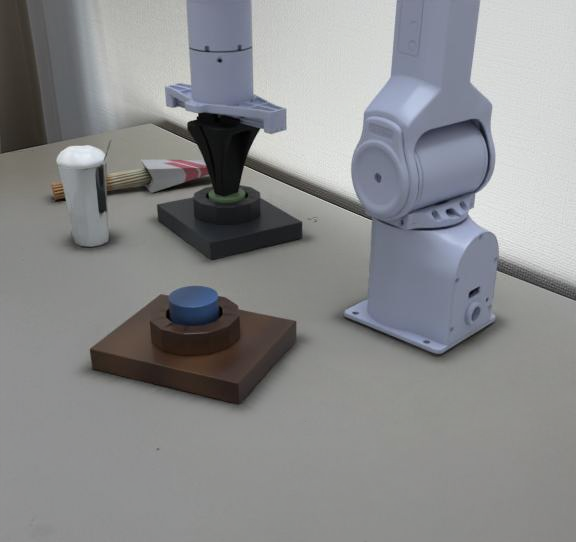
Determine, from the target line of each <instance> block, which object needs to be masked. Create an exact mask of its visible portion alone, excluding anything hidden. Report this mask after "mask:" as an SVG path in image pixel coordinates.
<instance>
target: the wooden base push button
mask: <svg viewBox="0 0 576 542" xmlns="http://www.w3.org/2000/svg"><path fill="white" fill-rule="evenodd" d="M168 298H169V295H168V294H164V293H161V294H159V295H157V296H156V297H155V298H154V299H152V300H151V301H150V302H149V303H147V304H146V305H145V306H143V307H142V308H140V309H139V310H138V311H137V312H135V313H134V314H133V315H131V316H130V317H128V319H127V320H125V321H124V322H123V323H121V324H120V325H118V326H117V327H116V328H114V329H113V330H112V331H111V332H110V333H108V334H107V335H106V336H104V337H103V338H102V339H100V340H99V341H97V342H96V343H95V344H94V345H92V346H91V347H90V348H89V354H90V362H91V368H92V370H97V371H100V372H104V373H109V374H111V375H112V374H113V375H117V376H122V377H126V378H129V379H134V380H137V381H142V382H146V383H150V384H155V385H159V386H163V387H168V388H171V389H174V390H175V389H176V390H180V391H184V392H187V393H193V394H196V395H200V396H205V397H207V398H213V399H217V400H220V401H224V402H231V403H232V404H233V403H234V404H237V405H239V404H240V403H241V402H242V401H243V400H244V399H245V398H246V397H247V396H248V394H249V393H250V392H252V390H253V389H255V387H256V386H257V384H258V383H259V382H260V381H261V380H262V379H263V378H265V376H266V375H267V373H268V372H269V371H270V370H271V369H272V368H273V367H274V366H275V365H276V363H278V361H279V360H280V359H281V358H282V357H283V356H284V354H286V352H288V350H289V349H290V348H291V347H292V346H293V345H294V344H295V343H296V341H297V320H294V319H288V318H284V317H278V316H275V315H270V314H269V315H268V314H264V313H258V312H253V311H248V310H244V309H239V305H238V304H237V303H235V302H234V301H233V300H231V299H229V298H227V297H226V296H222V295H218V298H219V319H218V320H217V321H215V322H212V323H209V324H206V325H203V326H184V325H179V324H174V323H173V322H171V320H170V311H169V299H168Z"/></svg>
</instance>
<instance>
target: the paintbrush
mask: <svg viewBox="0 0 576 542" xmlns="http://www.w3.org/2000/svg"><path fill="white" fill-rule="evenodd" d="M140 162H141V164H142V165H143V168H138V169H131V170H124V171H119V172H112V173H107V192H109V191H110V192H111V191H114V190H115V191H116V190H120V189H121V190H122V189H127V188H133V187H137V186H143V185H144V187H146V189H147V190H148V191H149V193H150V194H152V193H156V192H158V191H162V190H165V189H168V188H171V187H174V186H177V185H181V184H183V183H187V182H190V181H194V180H196V179H199V178H202V177H205V176H209V173H208V170H207V167H206V164H205V161H204V159H140ZM50 185H51V191H52V194H53V198H54V200H56V201H57V200H63V199H66V198H65V194H64V190H63V186H62V182H61V181H56V182H52V183H50Z"/></svg>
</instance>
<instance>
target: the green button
mask: <svg viewBox="0 0 576 542" xmlns="http://www.w3.org/2000/svg"><path fill="white" fill-rule="evenodd" d="M244 199H245V191H244V190H242V189H240V188H239V191H238V192H237V193H234V194H231V195H228V196H225V197H223V196H220V195H217V194H215V192H214V189H213V190H211V191H210V192H209V200H210V201H214V202H219V203H232V202H237V201H242V200H244Z"/></svg>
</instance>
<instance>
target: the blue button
mask: <svg viewBox="0 0 576 542" xmlns="http://www.w3.org/2000/svg"><path fill="white" fill-rule="evenodd" d="M168 296H169V298H168V299H169V311H170V320H171V322H173V323H174V324H179V325H184V326H203V325H206V324H209V323H212V322H215V321H217V320H218V319H219V298H218V296H219V293H218V292H217V290H215V289H213V288H211V287H208V286H203V285H188V286H187V285H186V286H182V287H179V288H177V289H174V290H172V291H171V293H169V295H168Z"/></svg>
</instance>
